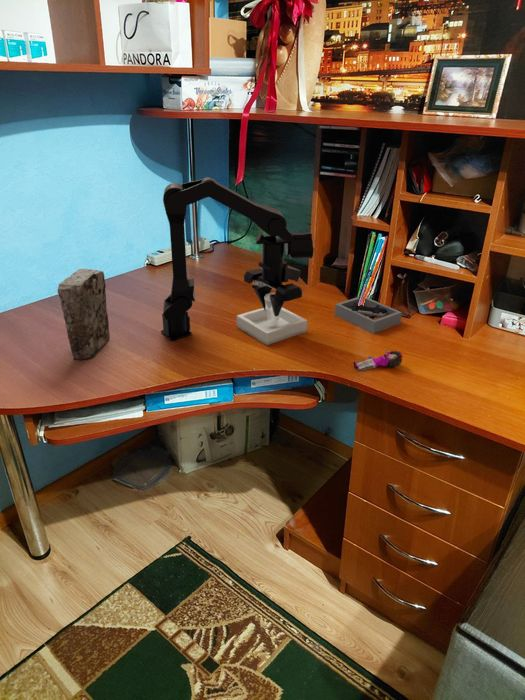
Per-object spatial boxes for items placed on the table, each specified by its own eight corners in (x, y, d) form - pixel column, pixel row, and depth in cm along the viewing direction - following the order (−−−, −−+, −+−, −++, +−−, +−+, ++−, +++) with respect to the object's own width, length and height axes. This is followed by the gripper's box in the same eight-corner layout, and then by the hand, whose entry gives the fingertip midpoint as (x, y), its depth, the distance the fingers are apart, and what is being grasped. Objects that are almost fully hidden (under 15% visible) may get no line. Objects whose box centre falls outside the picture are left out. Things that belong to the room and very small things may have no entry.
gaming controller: (348, 320, 159) (345, 312, 153) (351, 306, 160) (348, 298, 153) (385, 324, 156) (383, 317, 149) (387, 310, 156) (386, 302, 150)
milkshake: (261, 327, 147) (260, 293, 142) (267, 320, 151) (267, 287, 147) (277, 329, 145) (277, 295, 141) (282, 322, 150) (282, 288, 146)
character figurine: (359, 378, 128) (405, 368, 130) (358, 360, 126) (405, 350, 128) (350, 367, 133) (395, 357, 135) (350, 349, 131) (395, 340, 133)
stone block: (88, 336, 144) (77, 266, 135) (113, 338, 144) (104, 267, 134) (68, 360, 132) (54, 285, 123) (96, 362, 132) (84, 286, 123)
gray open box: (373, 333, 148) (374, 322, 146) (334, 315, 158) (335, 304, 157) (400, 323, 154) (402, 312, 152) (361, 306, 164) (362, 295, 163)
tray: (266, 345, 141) (266, 333, 139) (236, 326, 151) (236, 315, 149) (306, 331, 148) (307, 320, 147) (275, 314, 158) (275, 304, 156)
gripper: (319, 262, 137) (315, 317, 145) (275, 245, 151) (273, 296, 158) (286, 271, 131) (284, 328, 139) (242, 252, 145) (243, 304, 152)
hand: (271, 313), depth 147 cm, fingers open, 4 cm apart
